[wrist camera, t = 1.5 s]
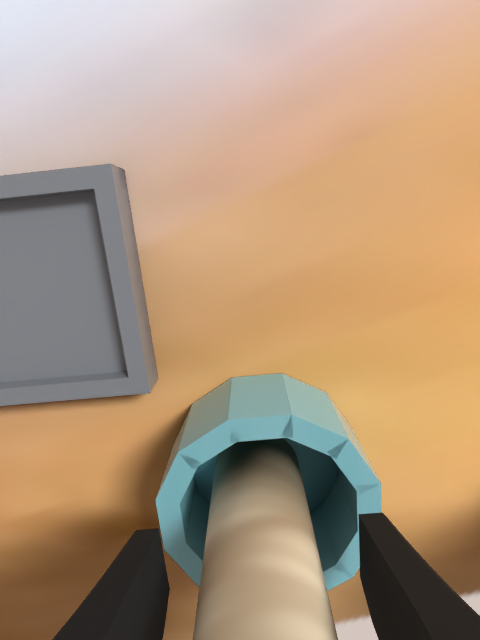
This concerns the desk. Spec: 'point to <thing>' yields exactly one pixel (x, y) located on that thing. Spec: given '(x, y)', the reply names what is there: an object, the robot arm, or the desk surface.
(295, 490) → the pin
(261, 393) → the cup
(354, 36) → the desk surface
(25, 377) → the tray
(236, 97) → the desk surface
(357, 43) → the desk surface
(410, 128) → the desk surface
